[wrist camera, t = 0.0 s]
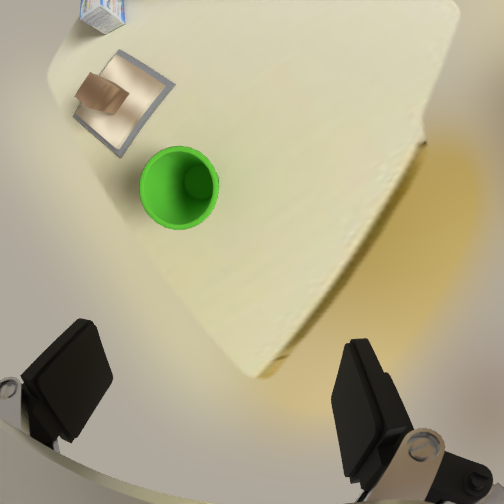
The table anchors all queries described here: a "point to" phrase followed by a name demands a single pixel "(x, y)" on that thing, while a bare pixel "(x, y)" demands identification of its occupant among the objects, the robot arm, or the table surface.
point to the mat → (146, 115)
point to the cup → (179, 187)
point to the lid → (116, 99)
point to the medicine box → (103, 14)
